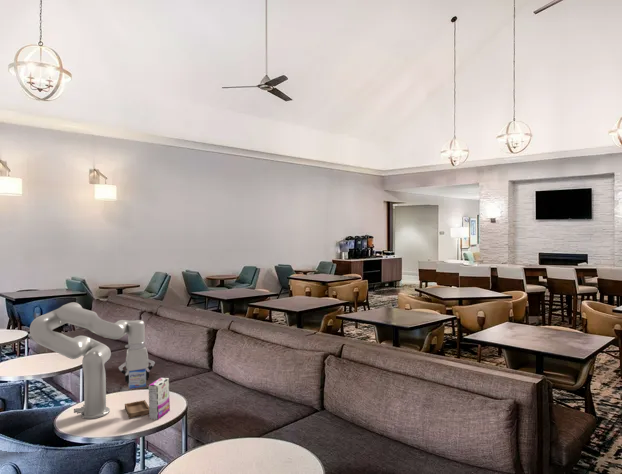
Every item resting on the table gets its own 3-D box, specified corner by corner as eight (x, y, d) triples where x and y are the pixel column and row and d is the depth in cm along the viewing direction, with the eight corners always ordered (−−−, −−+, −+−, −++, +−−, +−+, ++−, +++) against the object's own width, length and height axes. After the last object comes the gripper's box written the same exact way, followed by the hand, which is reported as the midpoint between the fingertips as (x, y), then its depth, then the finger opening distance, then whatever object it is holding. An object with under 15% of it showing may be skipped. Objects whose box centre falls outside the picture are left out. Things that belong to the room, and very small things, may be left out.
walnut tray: (129, 418, 215) (129, 413, 215) (124, 408, 227) (124, 403, 227) (150, 414, 220) (150, 409, 219) (144, 404, 232) (144, 400, 231)
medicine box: (128, 389, 219) (128, 371, 219) (128, 386, 223) (128, 368, 223) (146, 386, 223) (146, 369, 222) (145, 383, 227) (145, 366, 226)
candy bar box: (160, 410, 225) (160, 377, 224) (170, 410, 224) (169, 377, 223) (148, 419, 214) (148, 384, 214) (158, 420, 213) (157, 385, 213)
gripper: (118, 350, 215) (119, 386, 215) (156, 345, 224) (157, 380, 224) (116, 346, 221) (117, 382, 222) (153, 341, 230) (153, 376, 231)
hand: (137, 381), depth 223 cm, fingers closed on medicine box, 8 cm apart
